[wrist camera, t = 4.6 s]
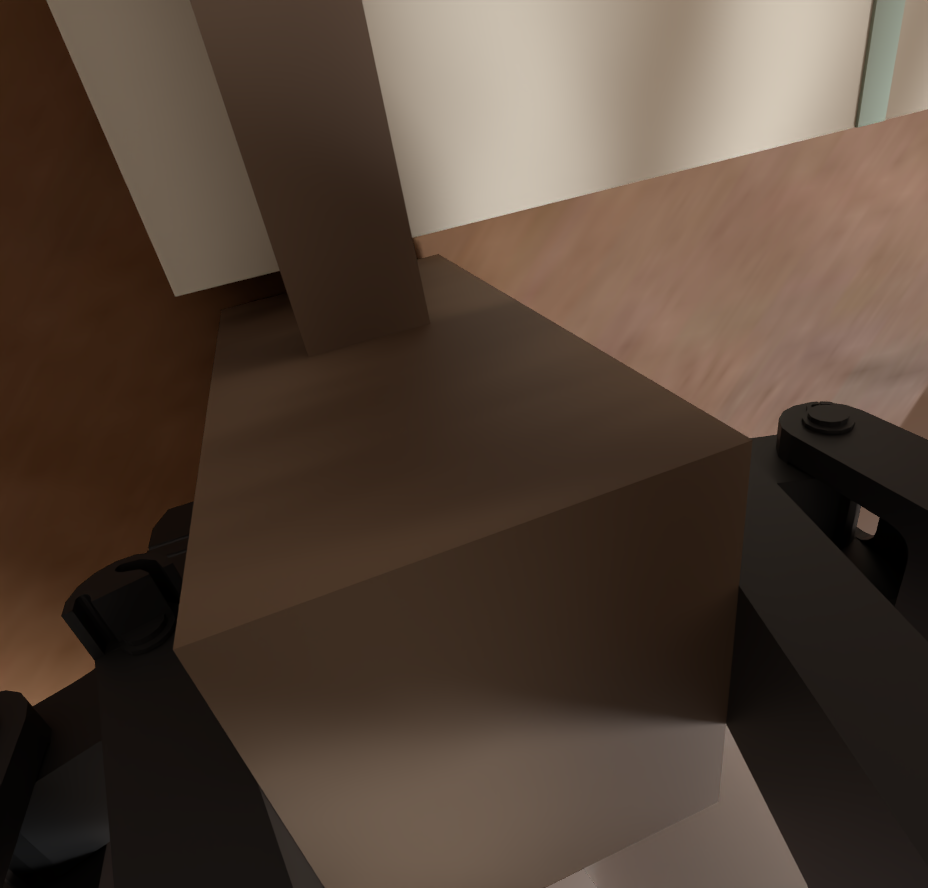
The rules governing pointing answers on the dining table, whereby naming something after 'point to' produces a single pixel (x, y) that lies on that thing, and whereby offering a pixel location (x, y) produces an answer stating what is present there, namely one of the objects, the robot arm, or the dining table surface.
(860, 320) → the dining table surface
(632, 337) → the dining table surface
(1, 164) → the dining table surface
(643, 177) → the board
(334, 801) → the block with long handle
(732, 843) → the water bottle
